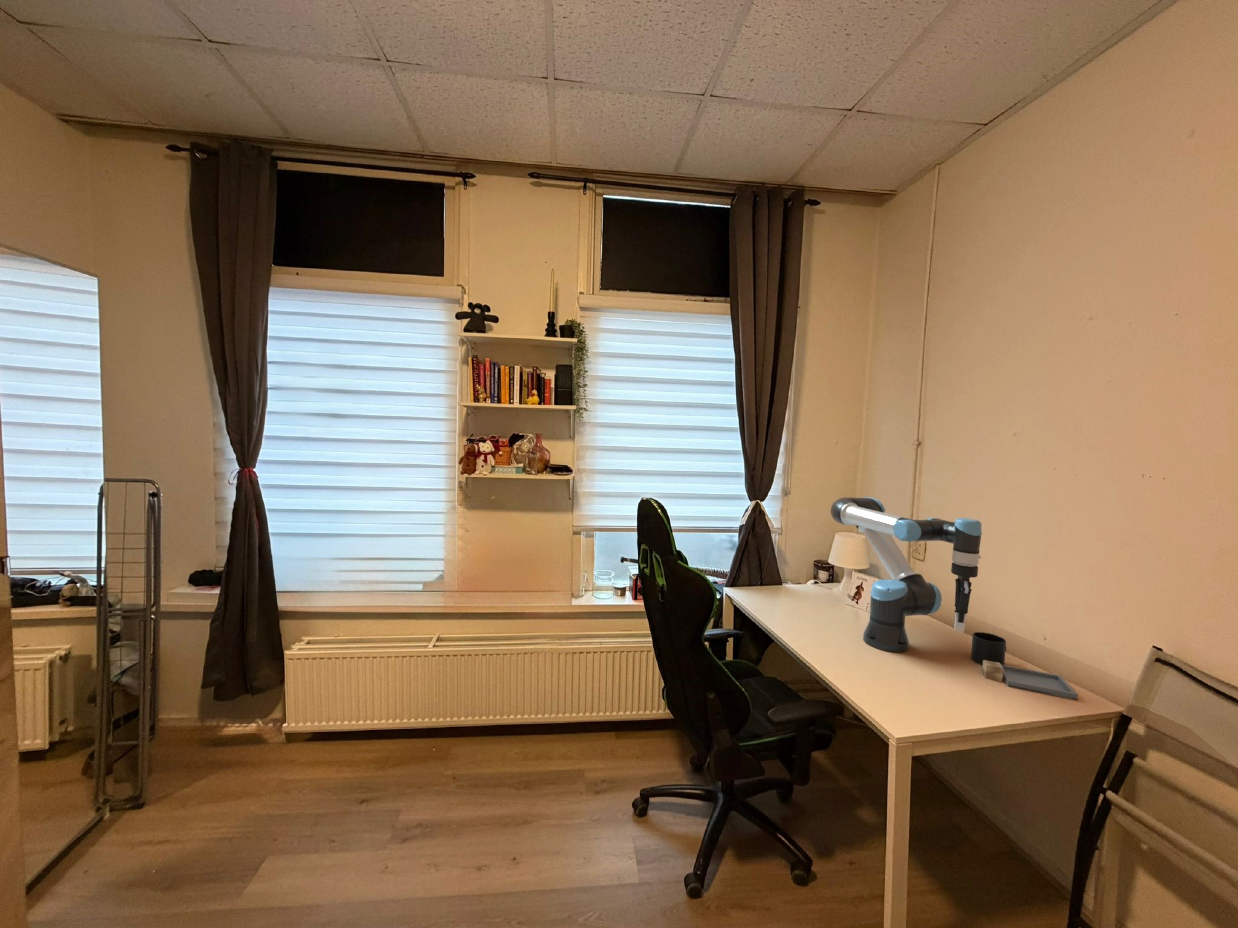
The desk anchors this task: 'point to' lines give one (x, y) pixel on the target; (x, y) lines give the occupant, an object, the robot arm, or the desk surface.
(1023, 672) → the tray
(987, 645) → the mug
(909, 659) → the desk surface
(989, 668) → the oak block
